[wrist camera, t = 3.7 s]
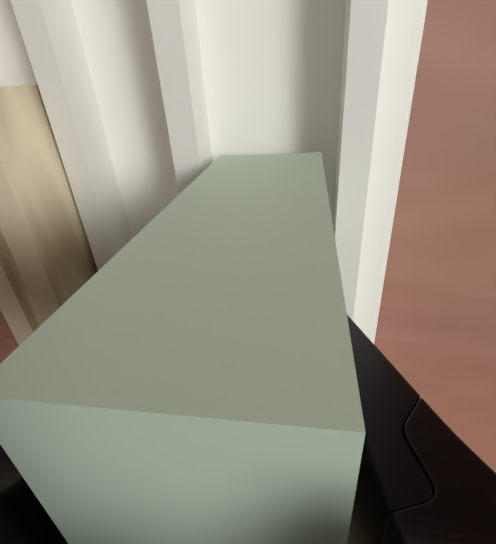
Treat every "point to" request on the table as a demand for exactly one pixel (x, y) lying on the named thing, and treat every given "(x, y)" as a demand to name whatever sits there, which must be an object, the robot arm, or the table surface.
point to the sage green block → (200, 374)
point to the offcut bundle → (36, 217)
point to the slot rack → (224, 106)
